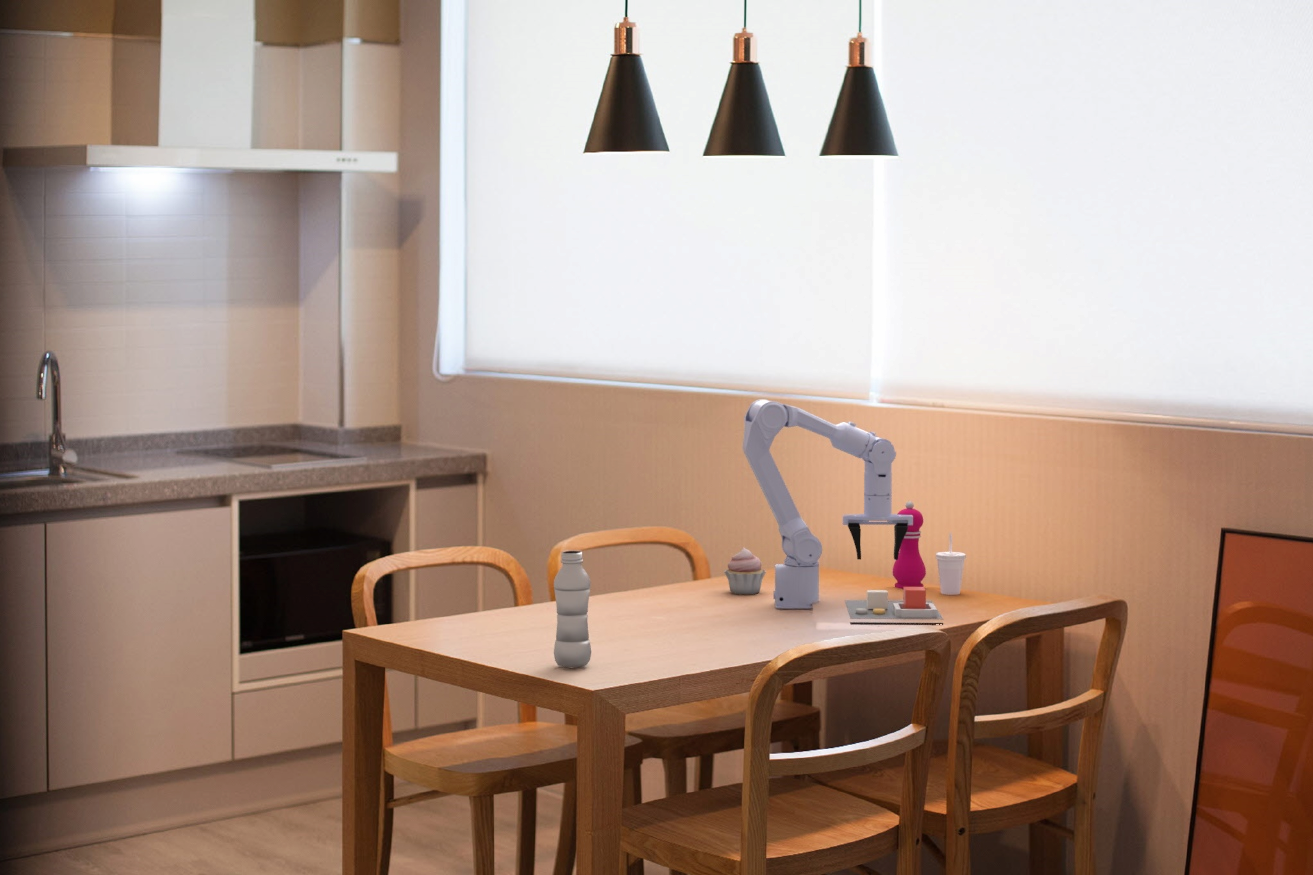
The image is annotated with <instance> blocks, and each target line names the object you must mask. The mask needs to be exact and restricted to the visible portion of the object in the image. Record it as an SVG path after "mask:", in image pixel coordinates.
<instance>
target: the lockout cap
mask: <svg viewBox="0 0 1313 875" xmlns="http://www.w3.org/2000/svg"><path fill="white" fill-rule="evenodd" d="M902 590H903V594H902V596H903V597H902V598H903V599H902V601H903V609H926V601H927V590H926V589H925V587H903V589H902Z"/></svg>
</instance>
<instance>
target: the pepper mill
mask: <svg viewBox="0 0 1313 875" xmlns="http://www.w3.org/2000/svg"><path fill="white" fill-rule="evenodd" d="M904 506H905V508H903V509H901V510H899V511H898V512H897V514H896V515H912V516H913V525H908V530H907V532H906V534H905V536H904V539H903V541H902V544H901V547H900V550H899V555H898V560H895V561H894V563H893V567H892V577H893V578H894V579H895V580H896V582H895V583H894V588H897V589H902V590H903V587H924V583H922V581H923V579H925V578H926V574H927V571H926V565H925V563H924V561H923V558H922V555H921V553H920V549H919V543H920V542H919V541H920V538H921V537H922V536H921V533H922V531H921V530H920V529H921V527H923V525H924V516H923V514H922V512H921V511H919V510H918V509H916V508H914V506H915V505H914V503H913V501H909V500H908V501H906V502H905V505H904ZM924 588H925V587H924Z"/></svg>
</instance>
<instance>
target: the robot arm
mask: <svg viewBox="0 0 1313 875" xmlns="http://www.w3.org/2000/svg"><path fill="white" fill-rule="evenodd" d="M743 422H744V429H743V438H742V439H743V441H742V451H743V453H744V454H743V455H745V458H746V461H748V464H749V465H750V468H751V471H752V472H753V474H754V477H755V479H756V481H757V483H758V484H759V487H760V489H761V492H762V494H763V496H764V497H765V499H766V500H765V501H766V502H767V504H768V505H769V506H768V507H769V508H770V509H771V512H772V514H773V516H774V518H775V521H776V523H777V524H778V532H779V534H780V537H781V548H782V551H783V553H784V555H786V556H785V559H784V560H783V563H776V564H775V565H774V590H773V600H774V607H775V608H774V609H778V610H779V609H780V610H781V609H784V610H785V609H786V610H787V609H790V610H791V609H792V610H795V609H796V610H798V609H800V610H801V609H802V610H803V609H805V610H806V609H807V610H809V609H810V610H811V609H814V607H813V604H816V603H818V602H820V560H819V559H820V558H821V556H822V551H823V545H822V542H821V541H820V539H819V538H818V537H816V536H815V535H814V534H813V533H812V532H811V530H810V528H809V526H808V525H807V523H806V521H804V520H803V517H802V516H801V515H800V514H801V513H800V512H799V510H798V508H797V506H796V504H795V501H794V499H793V497H792V495H791V493H790V492H789V489H788V487H787V485H786V483H785V481H784V479H783V477H782V474H781V472H780V471H779V468H778V465H777V464H776V461H775V459H774V457H773V456H772V454H771V450H770V449H771V446H772V444H773V441H774V440H775V438H776V436H777V435H778V434H779V433H781V430H783V429H784V428H785V427H786V428H793V427H799V428H802V429H805V430H807V431H809V432H812V433H814V434H817V435H819V436H823V437H824V438H827V439H829V442H830V443H831V446H832V448H833V449H834V448H835V449H837V450H840V451H841V452H844V453H846V454H849V455H851V456H853V457H855V458H858V459H862V461H863V462H864V474H863V476H864V478H863V489H864V490H863V513H861V514H860V513H859V514H857V513H856V514H842V525H843V526H847V528H848V530H849V532H850V534H851V537H852V540H853V543H854V546H855V551H856V552H855V553H856V558H857V560H862V550H861V536H862V535H861V534H862V533H861V530H862V529H861V526H862V525H866V526H867V525H875V526H877V525H882V526H884V525H886V526H888V525H889V526H890V525H891V526H892V525H894V527H893V529H894V530H893V531H894V545H893V559H894V560H895V561H896V560H898V555H899V551H900V547H901V544H902V541H903V539H904V536H905V534H906V532H907V530H908V525H913V516H912V515H897V514H895V513H894V514H893V513H892V492H893V491H892V488H893V484H892V479H893V478H892V476H893V473H892V464H893V462H894V461H895V459H896V457H897V451H895V447H894V445H893V444H892V441H890V440H889V439H887V438H881V437H878V436H877V435H876V432H874V431H871V430H870V431H869V432H868V431H866V430H864V429H861V428H859V427H857V426H856V425H857V424H856V423H855V422H852V421H848V423H847V422H845V421H843V422H840V423H837V424H834V423H832V422H830V421H828V420H825V419H824V418H821V417H819V416H817V415H814V414H813V413H810V412H809V411H806V410H804V409H802V408H800V407H797V406H793V405H789V404H783V403H781V402H779V401H776V400H775V401H774V400H769V399H764V398H763V399H762V398H760V399H757V400H754V401H753V402H752V403H751V404H750V405H749V407H748V409H747V411H746V413H745V415H744V417H743Z"/></svg>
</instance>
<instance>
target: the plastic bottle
mask: <svg viewBox="0 0 1313 875" xmlns="http://www.w3.org/2000/svg"><path fill="white" fill-rule="evenodd" d="M560 555H561V556H560V558H561V560H560V563H561V564H562V565H561V567H560V569H559V570H558V572H557V573H556V575H555V577H554V580H553V589H554V596H555V606H556V613H557V614H556V618H557V619H556V622H557V623H556V634H555V638H556V639H555V641H554V648H553V656H554V657H553V658H554V662H555V663H556V664H557V666H559V667H563V668H568V667H576V668H581V667H584V666H587V665H588V664H589V662H590V660H591V657H592V646H591V642H590V639H589V638H590V635H589V626H588V625H589V623H588V618H589V616H588V612H589V599H590V593H591V583H592V582H591V579H590V575H589V574H588V573H587V571H586V570H585V569H584V567H583V566H582V563H584V559H583V551H581V550H564V551H561V554H560Z"/></svg>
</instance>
